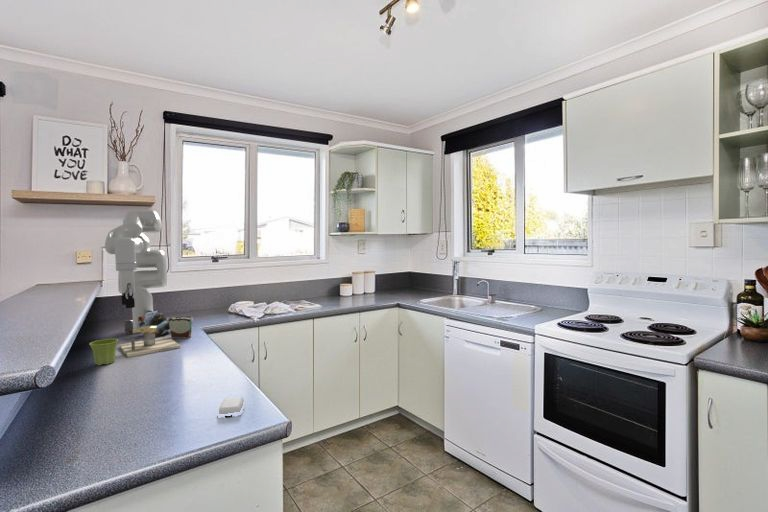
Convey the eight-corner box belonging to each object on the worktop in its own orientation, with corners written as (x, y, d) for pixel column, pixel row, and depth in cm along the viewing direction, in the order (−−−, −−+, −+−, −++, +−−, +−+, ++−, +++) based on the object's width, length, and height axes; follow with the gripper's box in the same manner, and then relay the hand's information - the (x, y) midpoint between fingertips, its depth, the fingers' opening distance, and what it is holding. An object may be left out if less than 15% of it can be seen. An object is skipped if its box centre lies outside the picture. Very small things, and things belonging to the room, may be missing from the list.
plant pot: (85, 365, 158) (84, 343, 157) (111, 358, 166) (110, 337, 166) (98, 368, 153) (97, 346, 153) (124, 361, 162) (123, 340, 161)
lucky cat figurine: (158, 337, 198) (141, 314, 196) (144, 344, 203) (128, 321, 201) (181, 322, 211) (166, 300, 209) (167, 329, 216) (152, 308, 214)
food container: (199, 335, 203) (198, 315, 203) (192, 338, 197) (191, 317, 196) (175, 334, 204) (175, 315, 204) (168, 337, 198) (167, 317, 198)
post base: (119, 347, 182) (119, 331, 182) (168, 339, 195) (168, 324, 195) (127, 357, 167) (126, 340, 167) (180, 347, 180) (179, 332, 180)
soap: (222, 406, 119) (221, 396, 119) (246, 404, 120) (246, 394, 120) (215, 420, 110) (215, 409, 110) (241, 417, 111) (241, 407, 111)
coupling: (125, 336, 172) (125, 322, 171) (124, 332, 179) (123, 319, 179) (158, 332, 179) (158, 318, 179) (155, 328, 186) (155, 315, 186)
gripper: (112, 265, 178) (114, 304, 180) (119, 269, 165) (121, 310, 167) (132, 264, 183) (134, 302, 185) (140, 267, 170) (142, 308, 172)
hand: (128, 306), depth 176 cm, fingers open, 9 cm apart
